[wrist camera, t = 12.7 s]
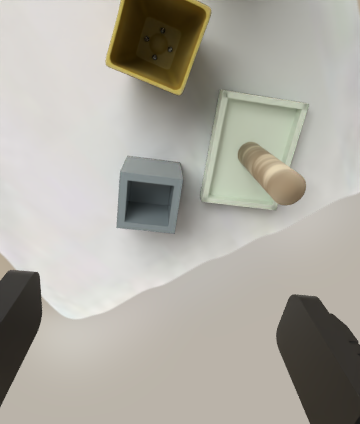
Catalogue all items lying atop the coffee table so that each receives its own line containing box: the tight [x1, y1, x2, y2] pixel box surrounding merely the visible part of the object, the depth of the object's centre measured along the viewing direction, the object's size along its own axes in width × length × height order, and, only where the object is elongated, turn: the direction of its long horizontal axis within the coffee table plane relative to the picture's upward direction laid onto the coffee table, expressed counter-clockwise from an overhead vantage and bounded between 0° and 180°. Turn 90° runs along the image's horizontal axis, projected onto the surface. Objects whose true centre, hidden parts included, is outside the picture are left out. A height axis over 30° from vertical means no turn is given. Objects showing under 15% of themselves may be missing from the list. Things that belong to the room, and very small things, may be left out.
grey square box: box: [117, 156, 183, 234], centre depth 42 cm, size 8×8×8 cm
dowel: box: [238, 142, 306, 205], centre depth 37 cm, size 4×4×15 cm
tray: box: [200, 90, 309, 210], centre depth 43 cm, size 16×12×2 cm
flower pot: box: [106, 0, 211, 95], centre depth 34 cm, size 9×9×9 cm
